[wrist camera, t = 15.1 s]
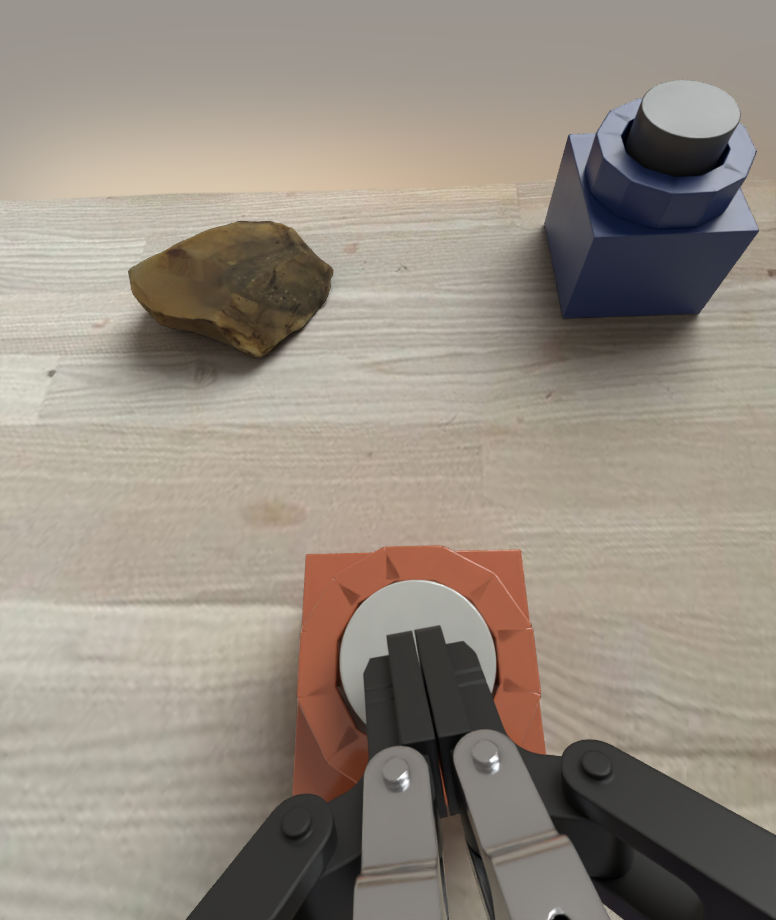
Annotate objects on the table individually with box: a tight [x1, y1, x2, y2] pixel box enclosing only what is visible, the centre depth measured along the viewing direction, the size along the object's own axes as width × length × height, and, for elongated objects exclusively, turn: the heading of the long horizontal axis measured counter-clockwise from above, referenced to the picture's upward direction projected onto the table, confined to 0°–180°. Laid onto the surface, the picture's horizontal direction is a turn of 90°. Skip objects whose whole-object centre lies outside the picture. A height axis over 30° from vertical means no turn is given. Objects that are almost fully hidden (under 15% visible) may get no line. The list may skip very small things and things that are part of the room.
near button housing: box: [544, 98, 759, 318], centre depth 29 cm, size 8×8×8 cm
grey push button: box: [626, 80, 741, 177], centre depth 25 cm, size 4×4×2 cm
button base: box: [292, 545, 546, 806], centre depth 20 cm, size 8×8×8 cm
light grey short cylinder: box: [339, 580, 496, 724], centre depth 16 cm, size 4×4×2 cm
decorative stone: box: [128, 221, 333, 359], centre depth 31 cm, size 10×9×4 cm
